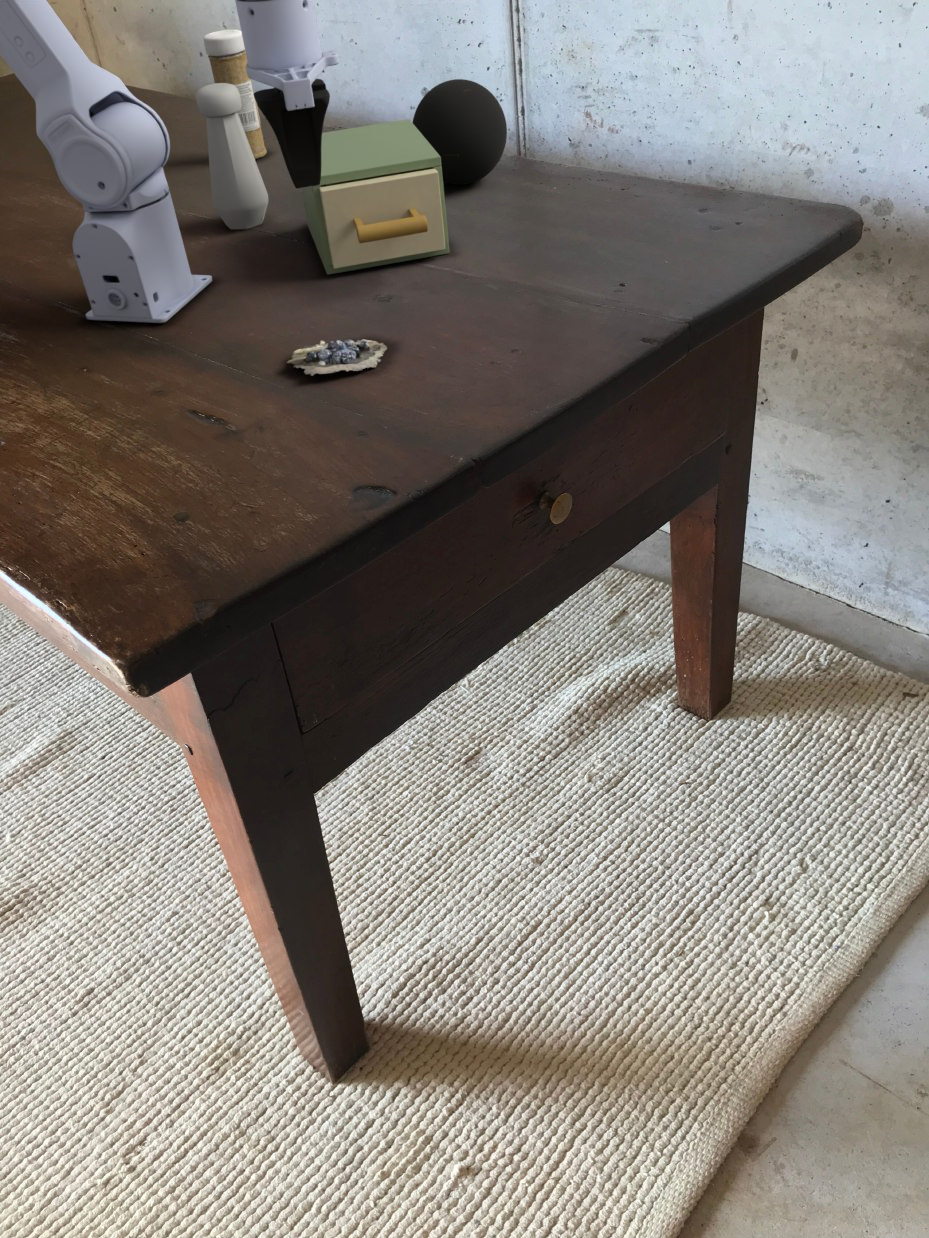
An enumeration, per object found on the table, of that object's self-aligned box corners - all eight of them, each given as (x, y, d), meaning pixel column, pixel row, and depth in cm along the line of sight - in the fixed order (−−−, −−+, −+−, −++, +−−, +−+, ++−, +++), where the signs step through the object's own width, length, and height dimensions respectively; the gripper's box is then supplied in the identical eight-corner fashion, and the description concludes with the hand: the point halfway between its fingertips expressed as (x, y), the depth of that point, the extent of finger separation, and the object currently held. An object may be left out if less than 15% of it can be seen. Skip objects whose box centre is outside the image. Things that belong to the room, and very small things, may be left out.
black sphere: (399, 185, 112) (387, 84, 105) (471, 161, 116) (464, 64, 110) (454, 204, 106) (445, 99, 99) (528, 179, 110) (524, 76, 103)
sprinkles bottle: (265, 149, 127) (241, 26, 118) (268, 159, 124) (243, 33, 115) (229, 154, 127) (202, 32, 118) (230, 165, 123) (202, 39, 115)
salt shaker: (261, 232, 104) (231, 93, 96) (209, 233, 105) (175, 95, 97) (280, 212, 108) (253, 77, 100) (230, 213, 109) (199, 79, 101)
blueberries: (274, 363, 81) (269, 341, 79) (359, 330, 84) (356, 308, 83) (319, 392, 76) (314, 368, 75) (406, 356, 80) (403, 333, 78)
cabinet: (449, 253, 95) (440, 156, 90) (327, 275, 94) (310, 177, 88) (419, 208, 106) (409, 119, 100) (308, 227, 104) (292, 137, 98)
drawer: (456, 265, 91) (449, 186, 86) (340, 286, 89) (327, 206, 85) (417, 207, 103) (409, 135, 99) (315, 224, 102) (302, 152, 97)
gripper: (341, 1, 71) (369, 203, 79) (314, -27, 82) (341, 153, 90) (239, 15, 70) (279, 218, 78) (225, -15, 81) (262, 165, 89)
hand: (307, 184), depth 84 cm, fingers closed
